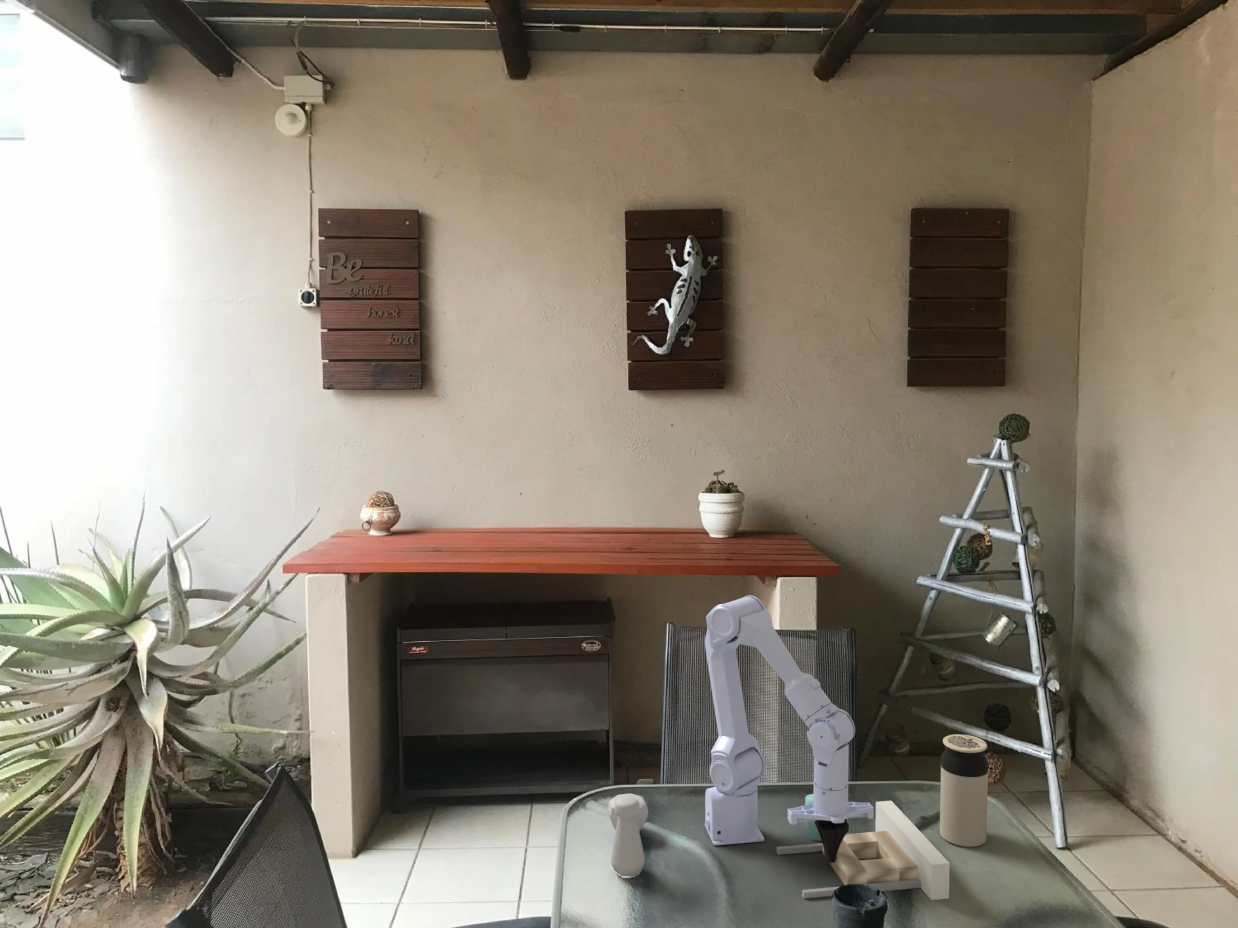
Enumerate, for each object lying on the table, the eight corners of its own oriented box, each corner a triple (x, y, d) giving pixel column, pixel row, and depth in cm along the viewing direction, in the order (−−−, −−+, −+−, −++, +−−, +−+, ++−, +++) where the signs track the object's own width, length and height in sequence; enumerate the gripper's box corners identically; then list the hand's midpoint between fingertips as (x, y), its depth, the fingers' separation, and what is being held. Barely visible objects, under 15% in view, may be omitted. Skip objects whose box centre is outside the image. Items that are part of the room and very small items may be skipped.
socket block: (848, 889, 150) (848, 872, 150) (822, 852, 162) (822, 835, 162) (917, 883, 152) (917, 865, 152) (886, 846, 164) (887, 830, 163)
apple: (645, 843, 166) (645, 809, 166) (603, 840, 168) (602, 806, 167) (651, 822, 174) (651, 789, 173) (611, 819, 175) (610, 786, 175)
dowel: (809, 841, 166) (809, 804, 165) (802, 830, 170) (802, 794, 169) (830, 839, 167) (830, 802, 166) (822, 828, 171) (822, 792, 170)
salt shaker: (606, 867, 158) (604, 795, 157) (636, 860, 160) (635, 789, 159) (619, 884, 153) (618, 810, 152) (650, 876, 155) (649, 803, 154)
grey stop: (811, 911, 144) (811, 875, 144) (770, 841, 166) (770, 810, 166) (948, 898, 147) (949, 862, 147) (890, 831, 169) (891, 800, 169)
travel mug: (962, 852, 162) (964, 753, 160) (930, 831, 169) (931, 737, 167) (996, 842, 165) (998, 745, 163) (963, 822, 172) (965, 730, 170)
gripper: (797, 796, 150) (796, 875, 151) (881, 790, 152) (880, 868, 153) (783, 778, 157) (783, 853, 158) (864, 772, 159) (863, 846, 160)
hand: (830, 859), depth 156 cm, fingers closed
